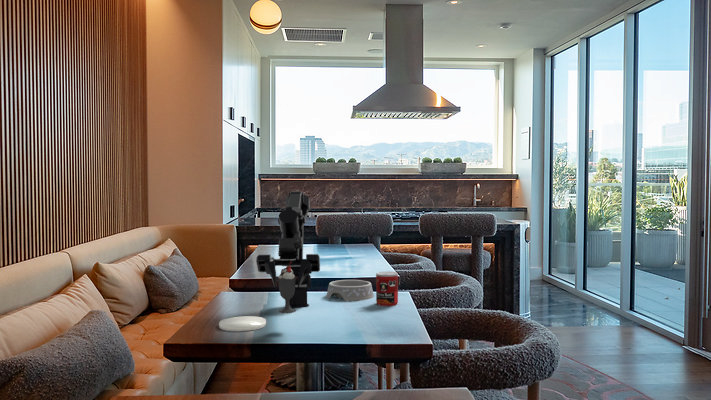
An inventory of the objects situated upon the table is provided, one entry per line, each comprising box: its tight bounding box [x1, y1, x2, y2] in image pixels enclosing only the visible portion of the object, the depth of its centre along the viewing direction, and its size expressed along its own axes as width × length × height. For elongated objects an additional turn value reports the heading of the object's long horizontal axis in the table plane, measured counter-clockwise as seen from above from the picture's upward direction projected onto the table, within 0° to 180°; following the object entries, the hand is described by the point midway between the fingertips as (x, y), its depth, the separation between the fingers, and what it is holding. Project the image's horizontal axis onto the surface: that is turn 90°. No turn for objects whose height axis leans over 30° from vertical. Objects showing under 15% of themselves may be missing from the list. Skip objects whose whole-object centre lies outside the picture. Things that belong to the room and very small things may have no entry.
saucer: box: [218, 315, 267, 332], centre depth 174 cm, size 14×14×1 cm
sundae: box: [276, 261, 298, 314], centre depth 168 cm, size 7×7×15 cm
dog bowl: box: [326, 279, 375, 302], centre depth 218 cm, size 17×18×5 cm
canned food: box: [375, 271, 399, 307], centre depth 204 cm, size 8×8×11 cm
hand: (286, 286), depth 167 cm, fingers closed on sundae, 6 cm apart
